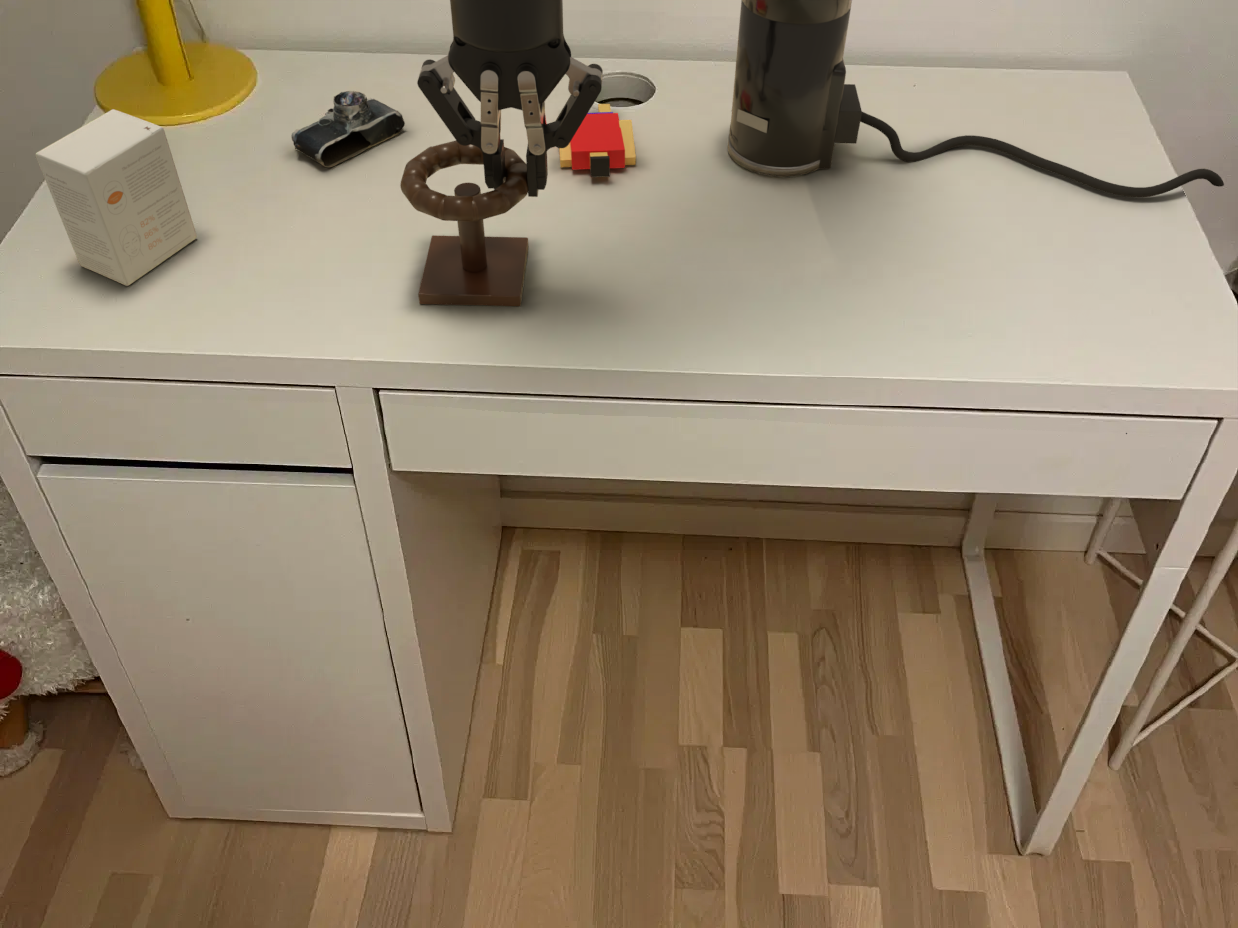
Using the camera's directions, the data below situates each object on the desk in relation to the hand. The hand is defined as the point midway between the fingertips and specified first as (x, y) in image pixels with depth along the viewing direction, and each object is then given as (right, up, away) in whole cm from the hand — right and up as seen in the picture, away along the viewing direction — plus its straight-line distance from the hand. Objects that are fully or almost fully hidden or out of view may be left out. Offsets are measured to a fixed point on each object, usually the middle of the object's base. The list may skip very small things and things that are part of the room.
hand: (517, 190), depth 87 cm
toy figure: (+6, +8, +20) cm, 22 cm away
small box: (-32, -4, +8) cm, 33 cm away
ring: (-4, +1, -1) cm, 4 cm away
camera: (-17, +9, +20) cm, 28 cm away
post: (-4, -6, +6) cm, 9 cm away
